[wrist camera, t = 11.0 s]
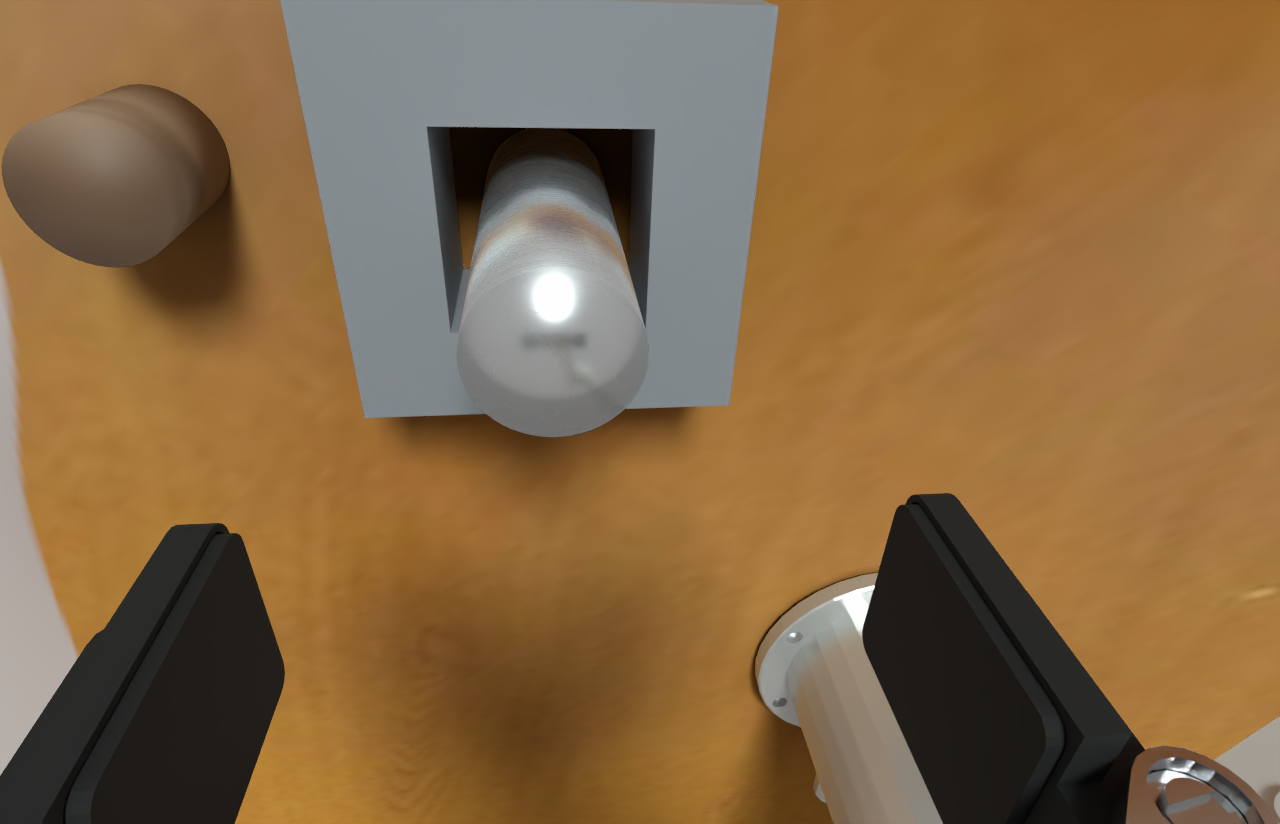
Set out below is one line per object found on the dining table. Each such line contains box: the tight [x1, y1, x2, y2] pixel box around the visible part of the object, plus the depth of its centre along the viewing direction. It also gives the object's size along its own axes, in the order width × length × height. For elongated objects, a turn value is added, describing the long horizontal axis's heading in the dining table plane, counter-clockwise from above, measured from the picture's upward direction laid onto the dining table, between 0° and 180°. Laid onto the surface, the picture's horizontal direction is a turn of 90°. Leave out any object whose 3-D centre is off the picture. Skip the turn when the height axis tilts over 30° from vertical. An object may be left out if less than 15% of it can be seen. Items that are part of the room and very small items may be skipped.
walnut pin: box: [2, 84, 230, 267], centre depth 21 cm, size 4×4×4 cm
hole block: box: [280, 0, 779, 418], centre depth 23 cm, size 12×12×5 cm
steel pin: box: [457, 128, 649, 437], centre depth 20 cm, size 4×4×12 cm
